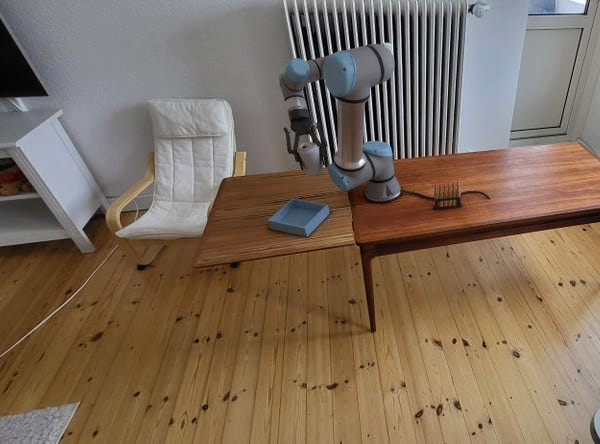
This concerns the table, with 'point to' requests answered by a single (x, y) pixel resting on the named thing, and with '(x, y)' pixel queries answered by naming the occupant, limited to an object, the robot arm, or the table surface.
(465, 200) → the table surface
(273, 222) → the tray
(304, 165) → the can
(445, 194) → the ammunition clip
